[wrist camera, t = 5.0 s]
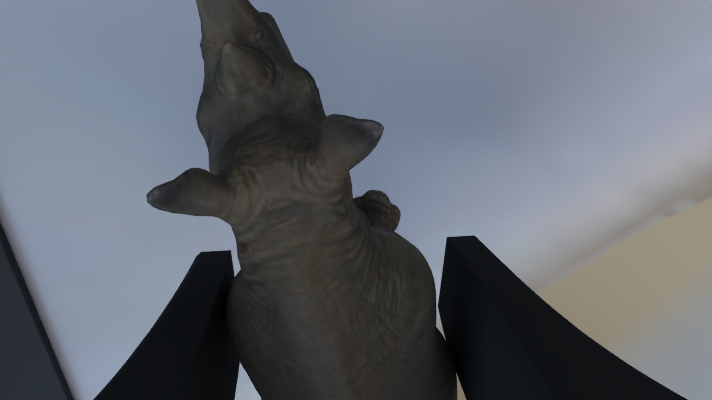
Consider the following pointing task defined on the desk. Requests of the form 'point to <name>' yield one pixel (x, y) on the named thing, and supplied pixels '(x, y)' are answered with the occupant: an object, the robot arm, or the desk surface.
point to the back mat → (24, 341)
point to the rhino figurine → (305, 230)
